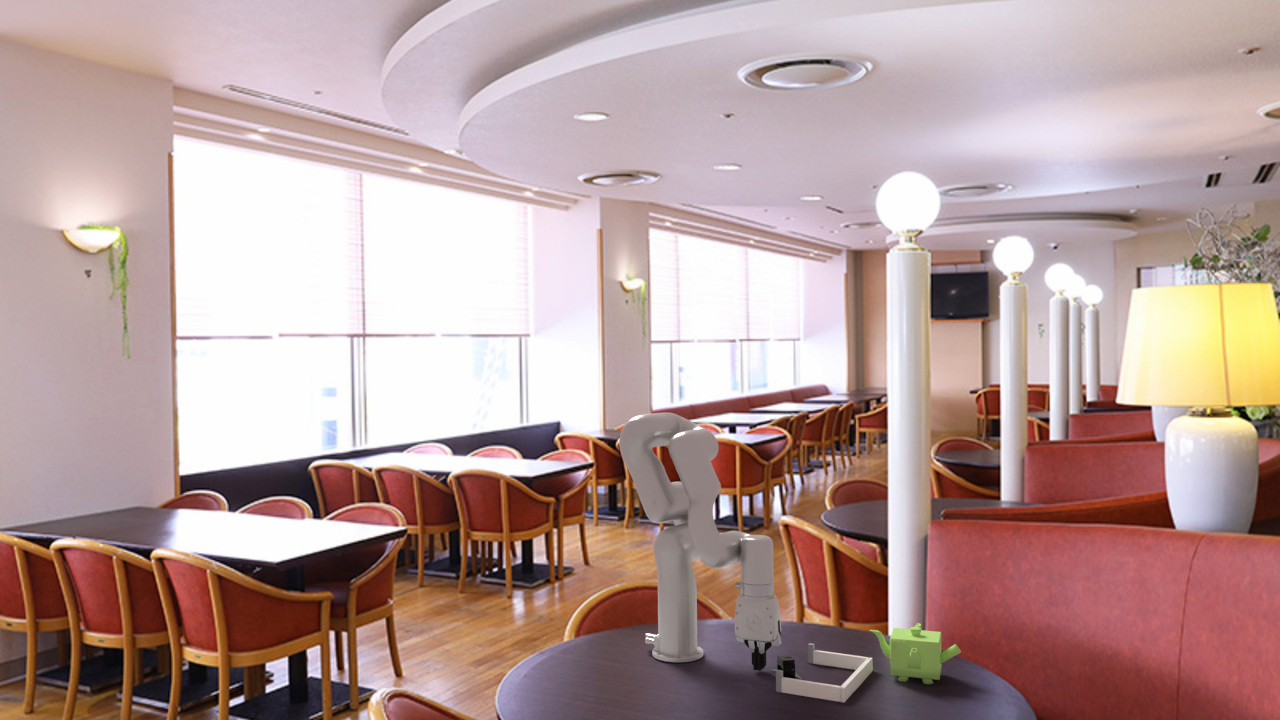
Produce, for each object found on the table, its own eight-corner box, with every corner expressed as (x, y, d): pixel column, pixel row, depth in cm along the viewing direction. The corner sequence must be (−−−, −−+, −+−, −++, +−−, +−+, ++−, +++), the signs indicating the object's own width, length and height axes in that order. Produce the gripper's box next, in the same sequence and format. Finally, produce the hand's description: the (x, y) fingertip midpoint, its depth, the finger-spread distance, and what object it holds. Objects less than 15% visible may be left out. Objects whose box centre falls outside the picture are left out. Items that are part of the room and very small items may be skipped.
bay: (776, 691, 208) (775, 671, 208) (809, 661, 228) (809, 643, 228) (844, 702, 201) (844, 681, 201) (872, 670, 221) (872, 651, 221)
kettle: (868, 672, 220) (868, 623, 220) (915, 663, 226) (915, 616, 226) (915, 692, 207) (914, 640, 207) (963, 682, 213) (963, 631, 213)
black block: (810, 686, 213) (810, 665, 213) (779, 688, 212) (779, 667, 212) (791, 668, 225) (791, 648, 225) (761, 670, 224) (761, 650, 224)
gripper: (721, 589, 221) (722, 669, 221) (782, 596, 214) (784, 678, 214) (734, 583, 228) (735, 660, 228) (793, 589, 221) (795, 668, 221)
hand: (759, 668), depth 221 cm, fingers closed
